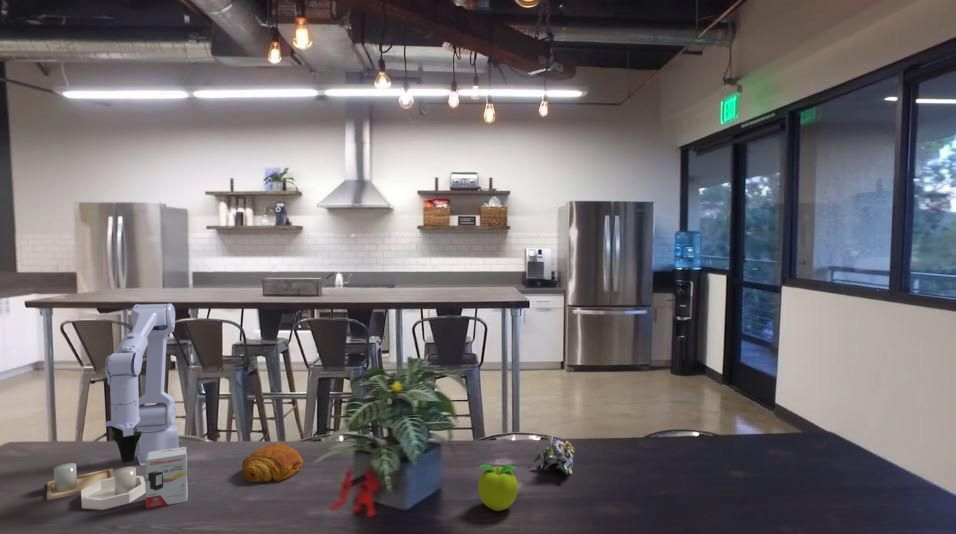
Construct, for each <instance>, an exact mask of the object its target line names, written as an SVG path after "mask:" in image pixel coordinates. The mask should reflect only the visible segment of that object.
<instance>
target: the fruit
mask: <svg viewBox="0 0 956 534" xmlns="http://www.w3.org/2000/svg"><path fill="white" fill-rule="evenodd" d="M477 468H478V469H485V471H483V472H482V474H481V475H480V476H479V479H478V485H477V486H478V487H477V488H478V494H479V498H480V499H481V501H482V502H483V504H484V505H485V506H486V507H487V508H489V509H491V510H492V511H496V512H501V511H504V510H507V509H508V508H509V507H511V505H512V504H513V503H514V502H515V500H516V499H517V495H518V487H519V486H518V481H517V478H516V476H515V475H514V473H513V472H512V471H513V470H515V469H517V467H516V466H513V465H510V464H509V465H508V464H506V465H504V466H503V467H502V466H499V465H497V466H494V467H493V466H492V465H490V464H484V463H483V464H480V465H479V466H478V467H477Z"/></svg>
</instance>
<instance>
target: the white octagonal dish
mask: <svg viewBox="0 0 956 534" xmlns="http://www.w3.org/2000/svg"><path fill="white" fill-rule="evenodd" d="M144 494H146V480H145V478H144V476H143V475H136V488H134V489H132V490H131V491H129V492H127V493H124V494H120V495H115V479H114V477H113V478H108V479H104V480H99V481H97V482H95V483H93V484H92V485H90V486H88V487H86V488H84V489H82V490H81V493H80V497H81V498H80V501H81V509H88V510H102V511H103V510H107V509H111V508H114V507H118V506H123V505H126V504H129V503H131V502H134V501H135V500H136V499H138V498H140V497H142V496H143V495H144Z"/></svg>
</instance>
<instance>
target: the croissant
mask: <svg viewBox="0 0 956 534" xmlns="http://www.w3.org/2000/svg"><path fill="white" fill-rule="evenodd" d="M241 464H242V465H241V466H242V475H243V477H244V478H245V479H246V480H247V481H249V482H255V483H259V482H261V483H263V482H265V483H266V482H277V483H278V482H280V481H283V480H287V479H288V478H290V477H292V476H294V475H296V473H298V472H299V471H300V470H301V468H302V467H303V464H304V460H303V458H302V456H301V454H300V453H299V452H298V451H297V450H296V449H294V448H292V447H291V446H289V445H288V444H287V443H279V442H278V443H277V442H275V443H270V444H266V445H263V446H261V447H260V448H259V449H257V450H254V451H252V453H250V454H249V455H248V456H246V457H245V459H244V460H243V461H242V463H241Z"/></svg>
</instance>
